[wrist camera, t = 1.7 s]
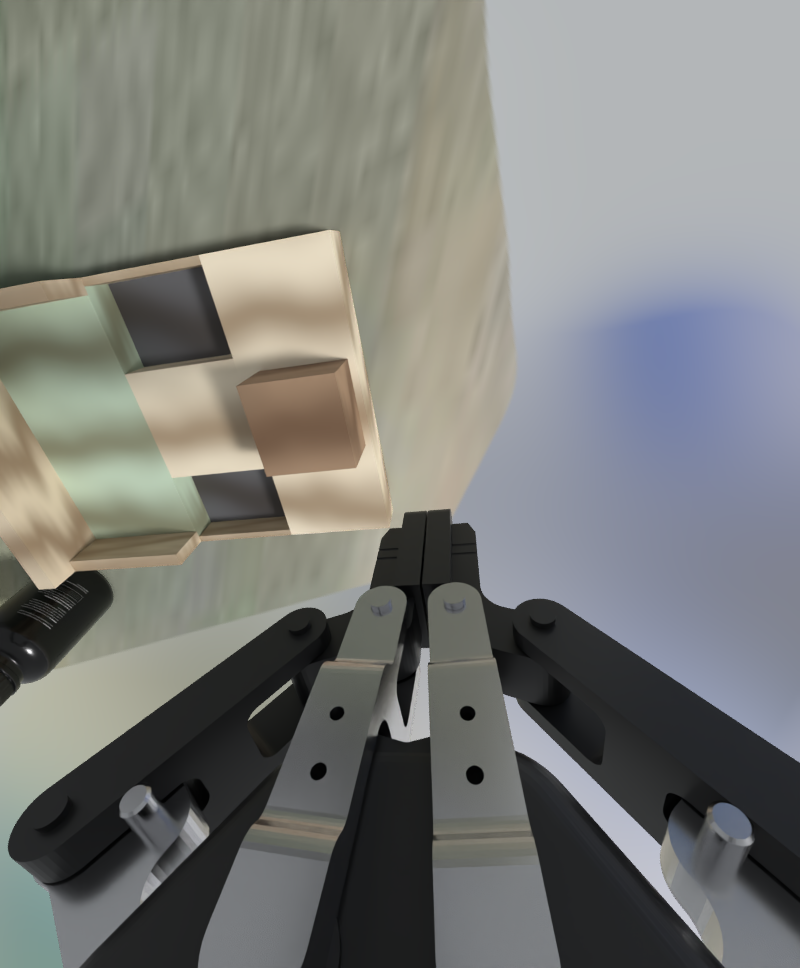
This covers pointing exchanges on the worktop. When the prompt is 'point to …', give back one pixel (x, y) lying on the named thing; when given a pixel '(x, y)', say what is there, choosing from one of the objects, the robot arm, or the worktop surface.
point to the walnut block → (304, 418)
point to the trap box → (171, 408)
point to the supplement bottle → (47, 626)
